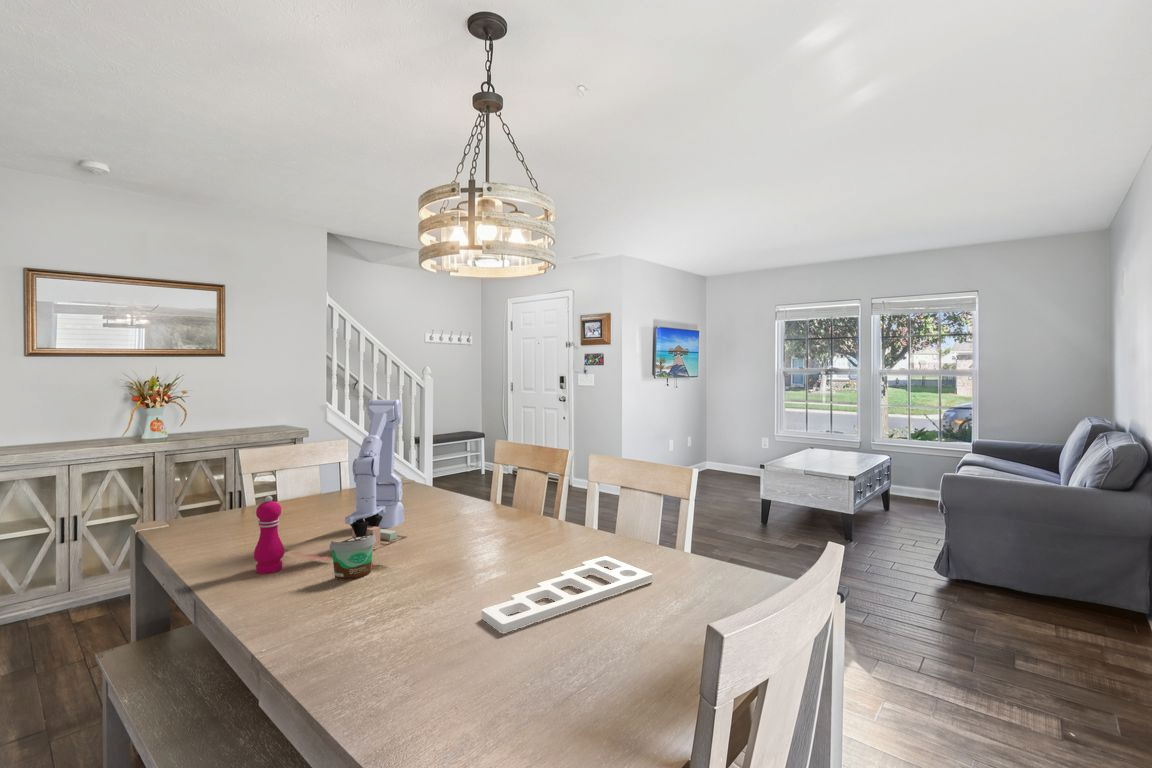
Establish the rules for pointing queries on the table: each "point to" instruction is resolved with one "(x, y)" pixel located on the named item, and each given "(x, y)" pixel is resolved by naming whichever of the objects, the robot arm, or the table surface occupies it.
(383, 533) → the upper offcut
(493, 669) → the table surface
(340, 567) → the food container
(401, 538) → the rack
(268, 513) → the pepper mill
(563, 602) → the holder
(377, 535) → the pink rectangular prism
